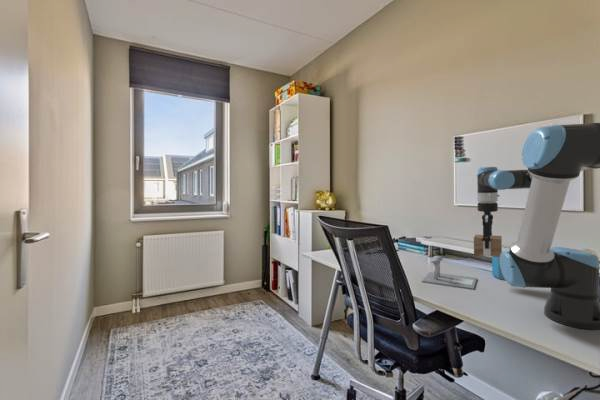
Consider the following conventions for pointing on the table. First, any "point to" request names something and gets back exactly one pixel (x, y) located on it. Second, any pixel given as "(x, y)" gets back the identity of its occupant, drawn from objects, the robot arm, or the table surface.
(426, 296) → the table surface
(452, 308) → the table surface
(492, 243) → the wooden notched block
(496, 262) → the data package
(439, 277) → the boss board
